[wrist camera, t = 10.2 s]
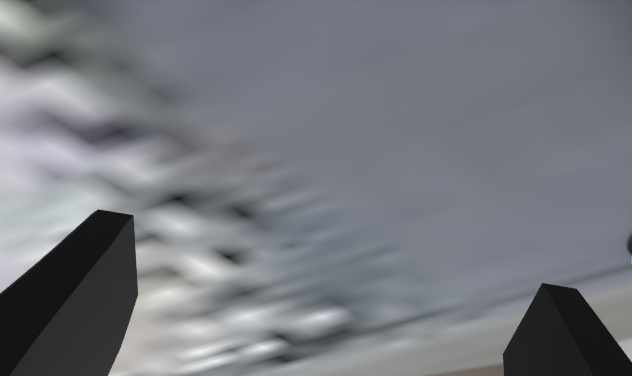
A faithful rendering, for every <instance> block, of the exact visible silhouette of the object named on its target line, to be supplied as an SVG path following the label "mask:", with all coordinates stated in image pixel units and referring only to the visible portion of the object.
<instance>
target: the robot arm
mask: <svg viewBox="0 0 632 376" xmlns="http://www.w3.org/2000/svg"><path fill="white" fill-rule="evenodd" d="M630 260H631V264H632V256H631V258H630ZM137 296H138V286H137V269H136V252H135V235H134V218H133V215H129V214H123V213H117V212H110V211H104V210H97V211H95V212H94V213H92V214H91V215H90V216H89V217H88V218H87V219H86V220H85V221H83V222H82V223H81V224H80V225H79V226H78V227H77V228H76V229H75V230H74V231H72V232H71V233H70V234H69V235H68V236H67V237H66V238H65V239H64V240H62V241H61V242H60V243H59V244H58V245H57V246H56V247H55V248H53V249H52V250H51V251H50V252H49V253H48V254H47V255H45V256H44V257H43V258H42V259H41V260H40V261H39V262H37V263H36V264H35V265H34V266H33V267H32V268H30V269H29V270H28V271H27V272H26V273H24V274H23V275H22V276H21V277H20V278H18V279H17V280H16V281H15V282H14V283H12V284H11V285H10V286H9V287H8V288H6V289H5V290H4V291H3V292H2V293H0V376H108V374H109V372H110V369H111V367H112V365H113V363H114V361H115V359H116V356H117V354H118V352H119V350H120V348H121V345H122V342H123V339H124V336H125V333H126V330H127V327H128V324H129V321H130V318H131V315H132V312H133V309H134V305H135V302H136V299H137ZM503 363H504V376H632V362H631V361H630V359H629V358H628V357H627V355H626V354H625V353H624V351H623V350H622V349H621V347H620V346H619V345H618V343H617V342H616V341H615V339H614V338H613V337H612V335H611V334H610V333H609V331H608V330H607V328H606V327H605V326H604V324H603V323H602V322H601V320H600V319H599V318H598V316H597V315H596V314H595V312H594V311H593V310H592V308H591V307H590V306H589V304H588V303H587V302H586V300H585V299H584V298H583V296H582V295H581V294H580V293H579V291H578V290H577V289H574V288H568V287H562V286H556V285H550V284H544V283H542V285H541V287H540V288H539V290H538V292H537V294H536V296H535V297H534V299H533V301H532V303H531V305H530V306H529V308H528V310H527V312H526V314H525V315H524V317H523V319H522V321H521V323H520V324H519V326H518V328H517V330H516V332H515V333H514V335H513V337H512V339H511V341H510V342H509V344H508V346H507V348H506V350H505V351H504V353H503Z"/></svg>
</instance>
